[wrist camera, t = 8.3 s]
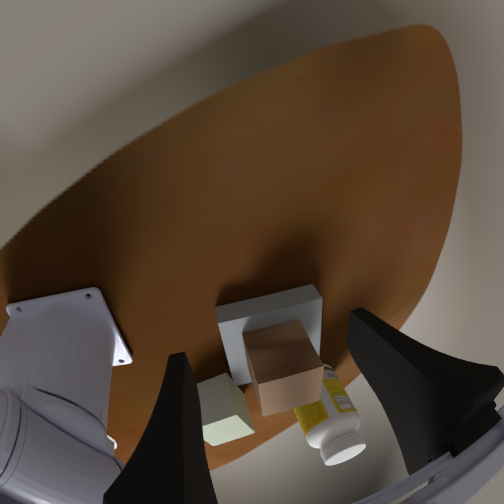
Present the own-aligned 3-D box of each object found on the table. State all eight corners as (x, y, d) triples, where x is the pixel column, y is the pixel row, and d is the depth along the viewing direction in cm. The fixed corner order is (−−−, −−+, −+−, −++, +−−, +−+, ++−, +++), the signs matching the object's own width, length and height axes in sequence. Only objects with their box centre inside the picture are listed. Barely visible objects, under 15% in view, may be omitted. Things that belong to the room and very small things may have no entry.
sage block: (206, 407, 29) (213, 446, 25) (185, 387, 27) (190, 429, 23) (243, 393, 29) (254, 432, 25) (226, 372, 27) (236, 414, 23)
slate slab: (229, 366, 27) (234, 386, 25) (213, 302, 23) (218, 323, 21) (309, 345, 28) (318, 363, 26) (310, 280, 25) (322, 297, 22)
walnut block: (248, 369, 24) (262, 416, 20) (241, 332, 22) (257, 384, 18) (298, 356, 25) (319, 400, 21) (298, 319, 23) (324, 365, 19)
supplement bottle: (284, 399, 31) (314, 474, 23) (283, 370, 29) (319, 456, 20) (330, 385, 32) (366, 454, 24) (334, 355, 30) (379, 432, 21)
